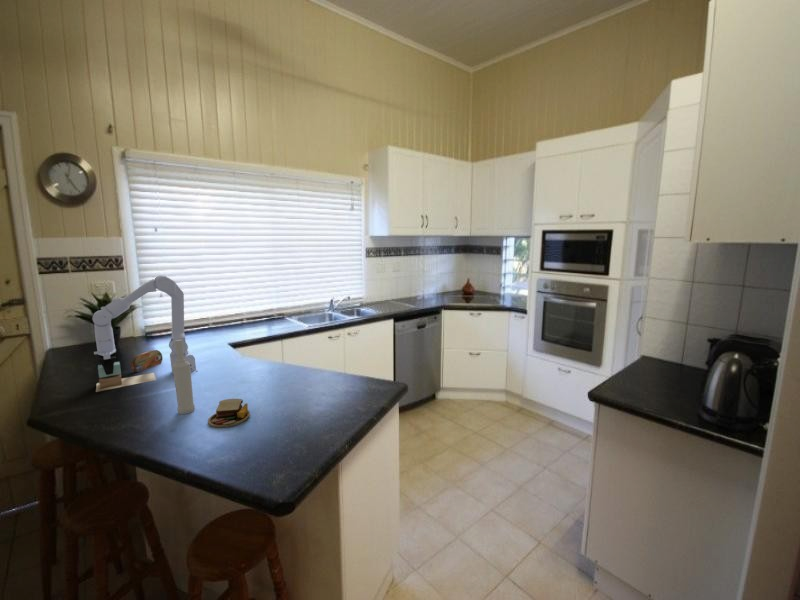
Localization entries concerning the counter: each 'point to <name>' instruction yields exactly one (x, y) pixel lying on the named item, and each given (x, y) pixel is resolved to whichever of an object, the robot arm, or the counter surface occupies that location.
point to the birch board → (130, 381)
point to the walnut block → (110, 381)
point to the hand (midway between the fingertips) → (109, 372)
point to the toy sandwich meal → (229, 413)
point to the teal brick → (115, 370)
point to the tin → (146, 360)
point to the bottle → (183, 381)
